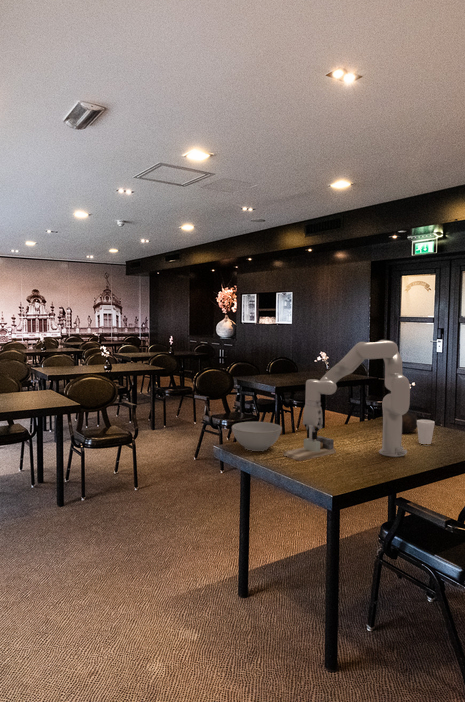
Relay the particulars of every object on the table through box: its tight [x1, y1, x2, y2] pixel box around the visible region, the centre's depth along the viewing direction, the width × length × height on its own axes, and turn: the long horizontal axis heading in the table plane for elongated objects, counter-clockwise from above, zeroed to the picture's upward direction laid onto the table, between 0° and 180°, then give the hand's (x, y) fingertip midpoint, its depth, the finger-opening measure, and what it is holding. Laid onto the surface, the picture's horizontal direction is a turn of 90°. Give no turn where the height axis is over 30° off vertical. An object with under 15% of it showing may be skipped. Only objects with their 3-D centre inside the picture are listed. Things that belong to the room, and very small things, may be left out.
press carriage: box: [303, 425, 320, 452], centre depth 257 cm, size 9×4×15 cm, turn 37°
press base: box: [282, 435, 337, 462], centre depth 256 cm, size 12×26×7 cm, turn 127°
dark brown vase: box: [402, 409, 419, 434], centre depth 311 cm, size 18×18×28 cm
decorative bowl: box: [231, 421, 283, 452], centre depth 266 cm, size 27×27×12 cm
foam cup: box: [416, 419, 436, 445], centre depth 280 cm, size 10×9×13 cm
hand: (311, 438), depth 257 cm, fingers closed on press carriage, 3 cm apart
